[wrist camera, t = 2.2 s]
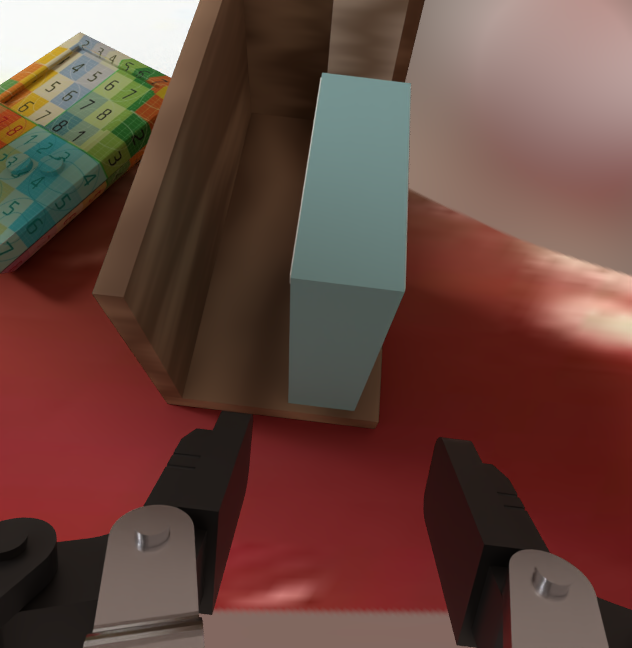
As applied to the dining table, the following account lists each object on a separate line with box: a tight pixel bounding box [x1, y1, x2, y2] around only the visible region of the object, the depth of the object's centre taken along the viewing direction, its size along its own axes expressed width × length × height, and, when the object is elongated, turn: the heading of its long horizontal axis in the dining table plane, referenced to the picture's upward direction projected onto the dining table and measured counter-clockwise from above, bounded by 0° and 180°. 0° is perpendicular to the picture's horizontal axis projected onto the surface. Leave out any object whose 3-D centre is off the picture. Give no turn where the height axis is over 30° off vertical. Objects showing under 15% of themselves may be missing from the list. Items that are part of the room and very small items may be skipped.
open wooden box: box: [92, 0, 425, 429], centre depth 30 cm, size 13×26×14 cm, turn 174°
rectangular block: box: [288, 73, 411, 411], centre depth 26 cm, size 4×11×14 cm, turn 174°
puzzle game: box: [0, 32, 171, 274], centre depth 37 cm, size 12×5×20 cm
